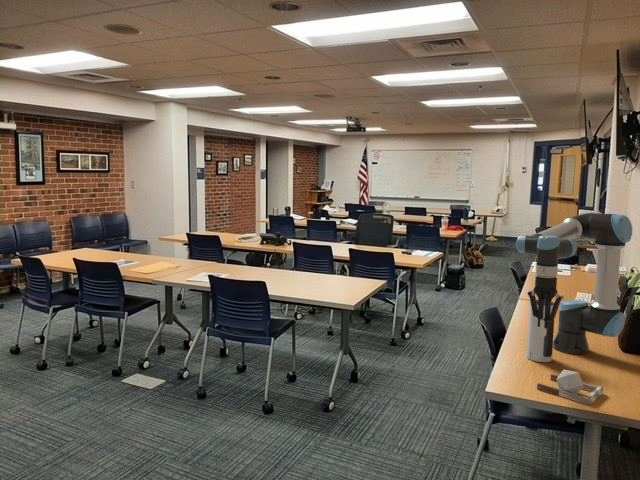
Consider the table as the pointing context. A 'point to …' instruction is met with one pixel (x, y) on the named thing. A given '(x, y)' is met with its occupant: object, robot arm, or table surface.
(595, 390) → the grey brown u-shaped frame
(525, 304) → the table surface
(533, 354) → the speaker
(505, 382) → the table surface
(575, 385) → the die
